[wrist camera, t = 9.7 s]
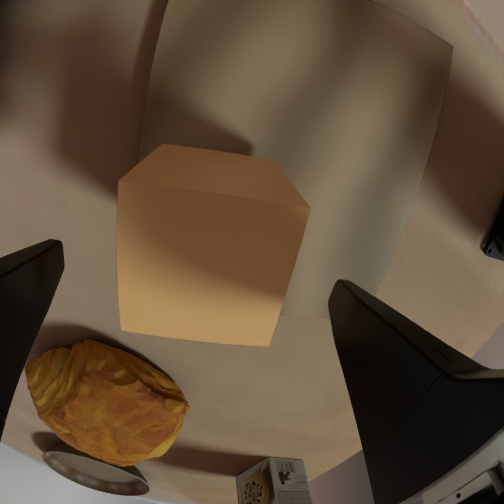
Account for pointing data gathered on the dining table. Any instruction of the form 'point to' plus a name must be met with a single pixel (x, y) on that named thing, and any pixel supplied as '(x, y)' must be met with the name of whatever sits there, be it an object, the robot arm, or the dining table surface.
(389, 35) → the base board
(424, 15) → the dining table surface
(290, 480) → the coffee box
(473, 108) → the dining table surface
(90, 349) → the croissant
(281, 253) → the orange rectangular block
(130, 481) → the plant saucer
